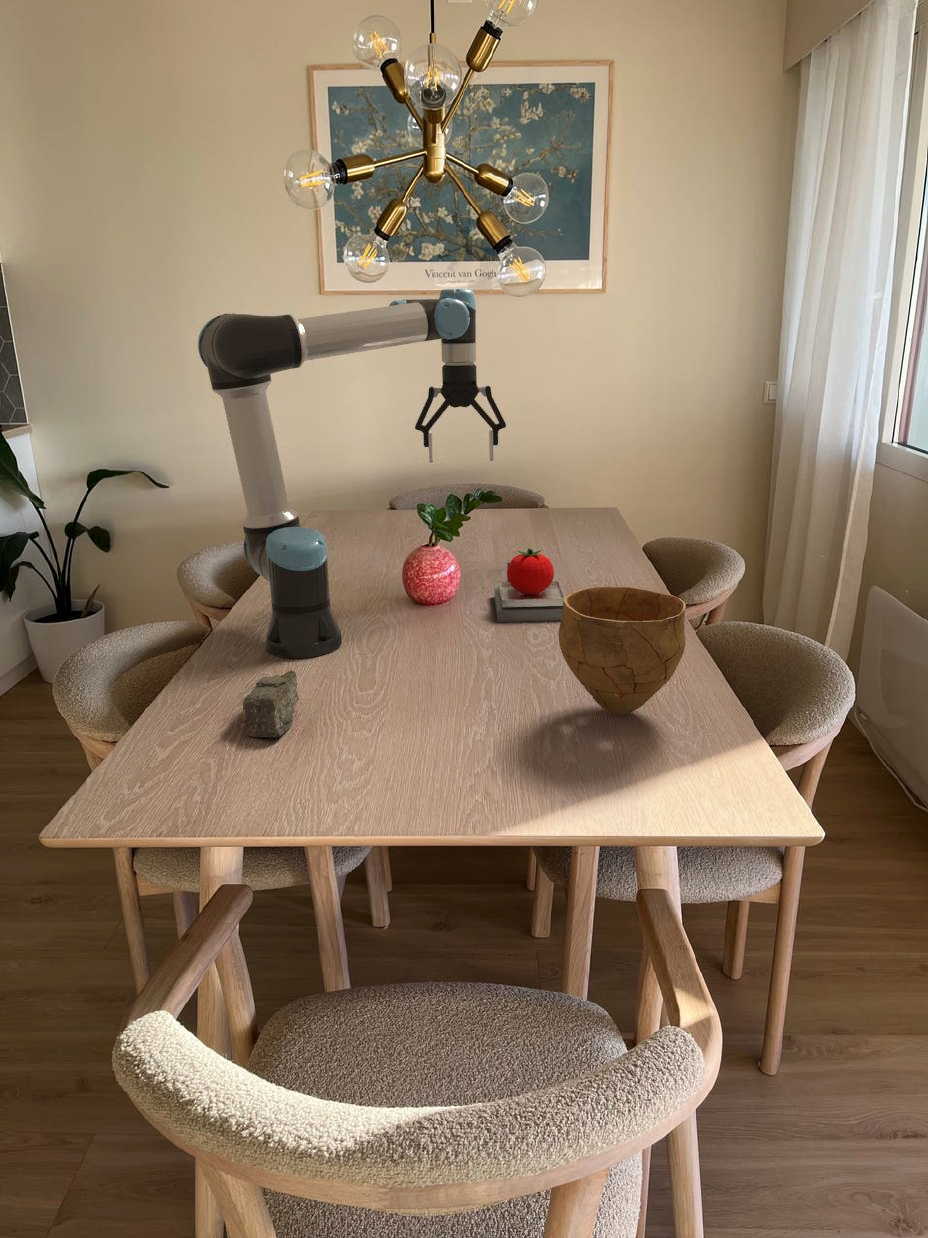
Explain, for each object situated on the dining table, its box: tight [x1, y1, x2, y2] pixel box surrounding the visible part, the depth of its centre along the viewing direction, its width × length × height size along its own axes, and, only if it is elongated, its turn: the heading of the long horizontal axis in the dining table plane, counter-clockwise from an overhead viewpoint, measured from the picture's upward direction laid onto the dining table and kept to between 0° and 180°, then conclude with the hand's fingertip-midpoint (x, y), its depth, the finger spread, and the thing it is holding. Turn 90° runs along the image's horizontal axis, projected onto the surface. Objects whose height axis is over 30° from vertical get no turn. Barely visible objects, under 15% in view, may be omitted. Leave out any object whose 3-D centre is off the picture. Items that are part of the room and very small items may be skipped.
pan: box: [498, 579, 567, 607], centre depth 208 cm, size 14×14×2 cm
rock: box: [240, 669, 300, 739], centre depth 155 cm, size 17×7×10 cm
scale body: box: [493, 558, 567, 623], centre depth 209 cm, size 18×16×9 cm
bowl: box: [558, 586, 687, 717], centre depth 153 cm, size 21×20×20 cm
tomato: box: [506, 547, 555, 595], centre depth 206 cm, size 10×10×10 cm
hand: (461, 461), depth 211 cm, fingers open, 13 cm apart
